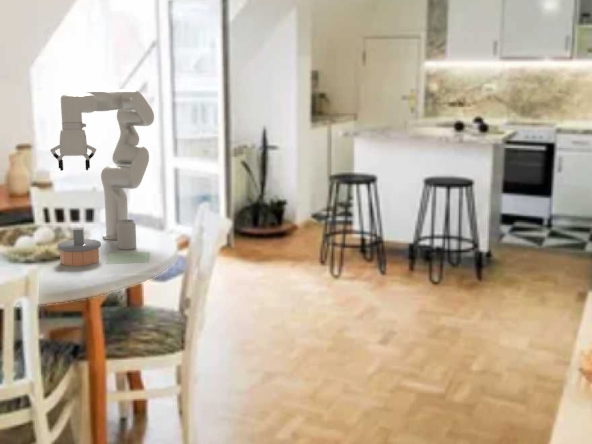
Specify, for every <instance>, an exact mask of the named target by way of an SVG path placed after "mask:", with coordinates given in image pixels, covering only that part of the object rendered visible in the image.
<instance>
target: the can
mask: <svg viewBox="0 0 592 444" xmlns="http://www.w3.org/2000/svg"><path fill="white" fill-rule="evenodd" d="M134 221H135V220H133V219H129V218H128V219H125V220H119V221H118V222H119V223H118V224H117V240H116V241H117V248H118V249H119V250H122V251H129V250H134V249H136V248H137V229H136V228H137V227H136V223H135V222H134Z"/></svg>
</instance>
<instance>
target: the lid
mask: <svg viewBox="0 0 592 444" xmlns="http://www.w3.org/2000/svg"><path fill="white" fill-rule="evenodd" d="M84 229H85V227H73V229H72V233H73V235H72V236H73V239H70V240H69V239H68V240H65V241H61V242H59V243H57V246H56V247H57V250H59V251H60V250H62V251H68V252H80V251H89V250H94V249H97V248H100V247H101V246H102V242H101V241H100V240H98V239H91V238H90V239H89V238H85V230H84Z"/></svg>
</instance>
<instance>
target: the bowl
mask: <svg viewBox="0 0 592 444" xmlns="http://www.w3.org/2000/svg"><path fill="white" fill-rule="evenodd" d="M99 248H100V247H99ZM99 248H97V249H94V250H89V251H80V252H68V251H62V250H59V260H60V261H59V262H60V264H61V265H62V266H72V267H73V266H75V267H77V266H87V265H88V266H89V265H92V264H95V263H98V262H99V259H100V252H99V251H100V250H99Z"/></svg>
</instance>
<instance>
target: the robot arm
mask: <svg viewBox="0 0 592 444" xmlns="http://www.w3.org/2000/svg"><path fill="white" fill-rule="evenodd" d="M60 109H61V110H60V111H61V128H62V129H60V134H59V144H58V145H56V146H55V147H52V148H51V149H50V150H49V151H50V152H51V154H52V155H53V158H55V159H56V160H57V161H58V163H57V164H58V169H60V171H63V170H64V160H63V158H64V157H69V156H70V157H72V156H73V157H78V156H80V157H81V156H83V157H84V158H85V160H84V161H85V162H84V163H85V170H86V171H88V170H89V169H90V168H91V164H90V160H91V159H92V158H93V157H94V155H95V153H96V151H97V148H96V147H93V146H91V145H89V144H88V141H87V135H86V131H85V129H83V128H86V127H87V124H86V123H83V116H82V115H83V114H86V113H87V114H88V113H89V114H91V113H94V112H109V111H116V110H117V112H116V119H117V123H118V126H119V130H120V134H119V138H118V141H117V143H116V146H115V148H114V151H113V153H112V162H113V164H115V165H107V166H105V167H103V169H102V170H101V173H100V177H101V179H100V181H101V183H102V188H103V195H104V196H103V197H104V213H105V215H104V216H105V233H103V234H102V238H103V239H104V240H110V241H118V240H117V224H118V223H119V222H118V221H119V220H125V219H129V218H128V217H129V216H128V215H129V214H128V213H129V212H128V196H127V193H126V192H125V190H124V189H130V190H134V189H137V188H139V186H140V185H141V183H142V181H143V178H144V175H145V173H146V170H147V168H148V165H149V161H150V155H149V153H150V152H149V150H148V149H147V147H145V146H142V145H139V143H140V135H139V134H138V132H137V130H136V128H135V126H137V127H149V126H151V125H152V124H153V123H154V121H155V113H154V110H153V109H152V107H151V106H150V104H149V102H148V101H147V99H146V98H145V96H144V95H143V94H142V93H141V92H140V91H138V90H137V89H122V88H121V89H120V88H119V89H108V90H107V89H106V90H105V89H104V90H92V91H83V92H81V91H80V92H69V93H65V94H62V96H61V97H60ZM82 113H83V114H82ZM57 150H59V154H60V155H59V154H57V153H56V151H57ZM88 150H90V151H91V153H90V154H89V155H88Z"/></svg>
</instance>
